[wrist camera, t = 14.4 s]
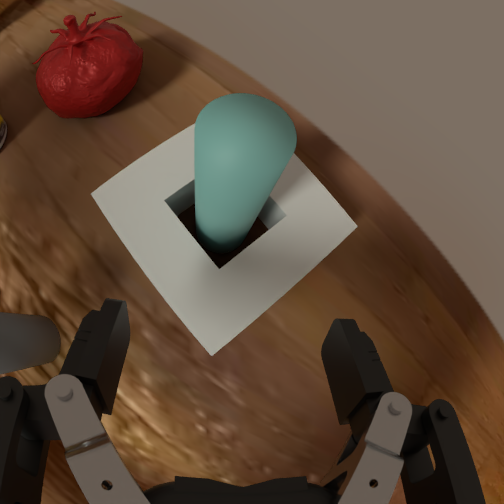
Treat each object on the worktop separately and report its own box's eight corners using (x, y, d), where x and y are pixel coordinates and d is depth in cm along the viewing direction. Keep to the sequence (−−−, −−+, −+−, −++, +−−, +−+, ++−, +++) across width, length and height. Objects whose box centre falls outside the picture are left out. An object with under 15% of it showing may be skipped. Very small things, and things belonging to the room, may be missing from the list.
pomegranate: (104, 147, 21) (70, 69, 12) (32, 118, 21) (-7, 56, 12) (167, 70, 24) (164, -9, 15) (92, 51, 23) (76, -14, 15)
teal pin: (217, 263, 21) (239, 196, 9) (185, 224, 21) (174, 121, 10) (256, 232, 22) (316, 143, 10) (225, 195, 22) (252, 81, 11)
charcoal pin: (40, 372, 17) (-23, 389, 9) (16, 332, 17) (-51, 332, 9) (69, 346, 18) (7, 356, 10) (43, 305, 18) (-22, 295, 10)
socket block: (209, 348, 20) (211, 356, 16) (107, 214, 20) (90, 193, 16) (333, 241, 23) (357, 226, 19) (233, 129, 23) (239, 98, 20)
